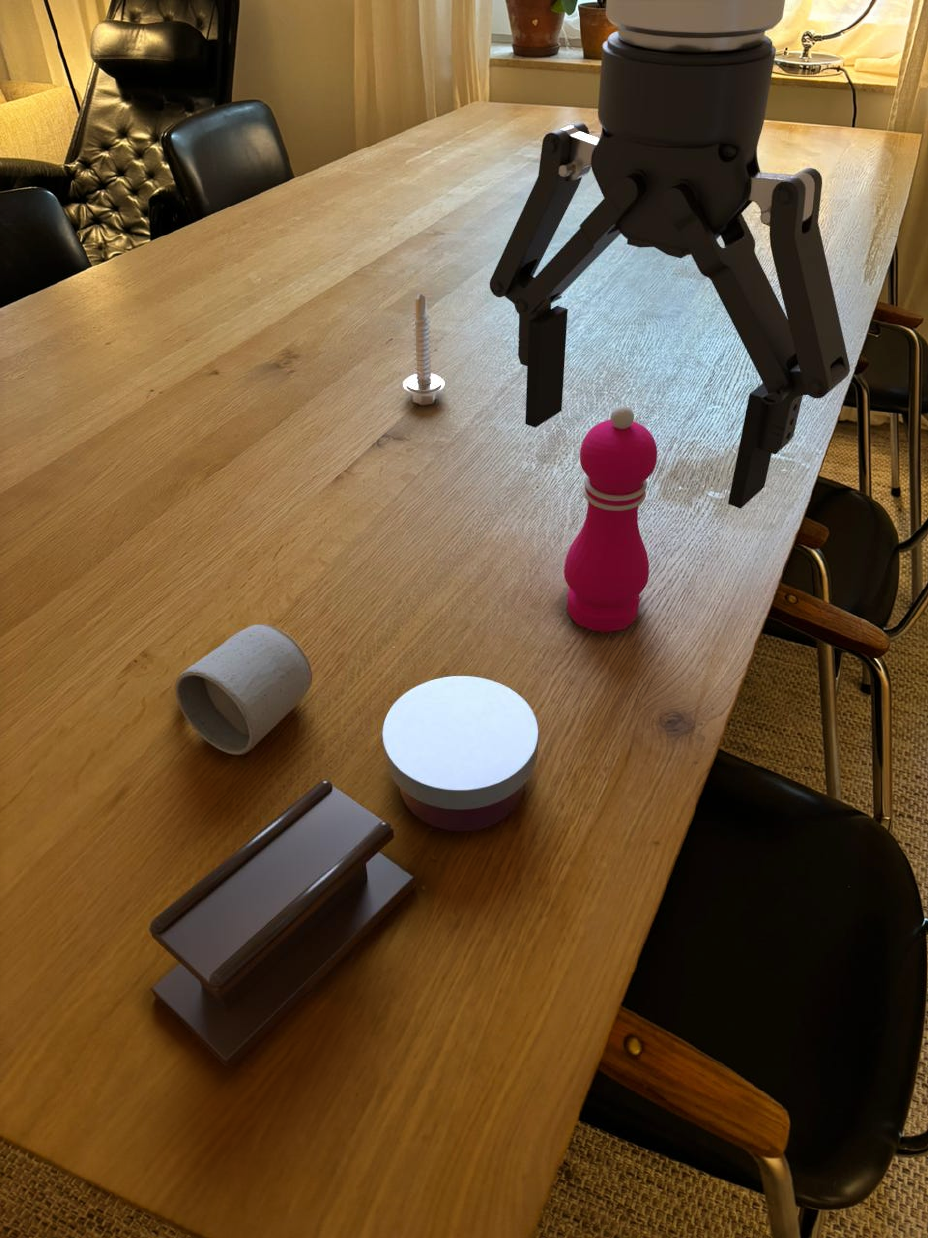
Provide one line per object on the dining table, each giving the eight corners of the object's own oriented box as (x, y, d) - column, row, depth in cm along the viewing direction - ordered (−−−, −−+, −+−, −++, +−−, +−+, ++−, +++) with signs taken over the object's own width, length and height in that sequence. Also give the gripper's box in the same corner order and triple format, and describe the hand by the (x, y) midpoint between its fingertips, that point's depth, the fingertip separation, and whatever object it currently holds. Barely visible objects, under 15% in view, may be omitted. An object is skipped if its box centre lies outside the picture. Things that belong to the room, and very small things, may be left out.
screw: (448, 392, 119) (439, 411, 116) (409, 388, 120) (399, 407, 116) (446, 286, 111) (436, 303, 107) (404, 283, 111) (393, 300, 108)
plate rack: (415, 887, 66) (410, 816, 61) (229, 1071, 57) (205, 1005, 52) (341, 833, 70) (331, 762, 65) (154, 998, 60) (126, 930, 56)
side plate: (568, 741, 71) (569, 721, 70) (471, 837, 65) (470, 818, 64) (452, 674, 77) (451, 655, 76) (351, 756, 71) (349, 737, 69)
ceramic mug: (324, 702, 79) (312, 630, 75) (259, 770, 74) (241, 696, 69) (223, 659, 84) (206, 588, 79) (154, 721, 78) (131, 648, 73)
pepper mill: (544, 608, 88) (555, 406, 75) (598, 574, 92) (617, 375, 79) (606, 648, 84) (629, 441, 71) (660, 610, 88) (691, 407, 75)
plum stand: (548, 774, 74) (551, 742, 71) (469, 854, 68) (469, 822, 66) (454, 717, 78) (453, 685, 76) (373, 788, 73) (370, 756, 71)
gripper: (419, 12, 47) (433, 412, 61) (947, 90, 35) (814, 568, 49) (515, -9, 52) (508, 368, 65) (1015, 53, 39) (875, 502, 53)
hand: (638, 454), depth 57 cm, fingers open, 13 cm apart
